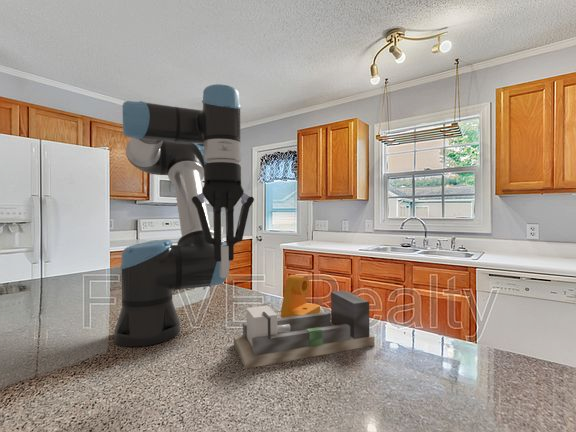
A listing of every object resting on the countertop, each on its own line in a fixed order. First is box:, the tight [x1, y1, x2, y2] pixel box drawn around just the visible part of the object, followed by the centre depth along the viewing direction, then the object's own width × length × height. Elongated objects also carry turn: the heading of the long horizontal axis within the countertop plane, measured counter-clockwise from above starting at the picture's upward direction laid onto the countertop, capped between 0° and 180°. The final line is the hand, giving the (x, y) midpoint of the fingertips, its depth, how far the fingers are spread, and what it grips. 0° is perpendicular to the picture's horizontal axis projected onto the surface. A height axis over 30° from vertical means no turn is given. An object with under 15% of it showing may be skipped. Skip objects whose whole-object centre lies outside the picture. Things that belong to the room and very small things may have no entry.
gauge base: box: [233, 290, 376, 370], centre depth 73 cm, size 30×12×10 cm, turn 110°
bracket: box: [280, 274, 321, 318], centre depth 92 cm, size 11×7×12 cm, turn 147°
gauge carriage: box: [246, 305, 291, 346], centre depth 69 cm, size 9×10×7 cm
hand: (224, 276), depth 66 cm, fingers closed
